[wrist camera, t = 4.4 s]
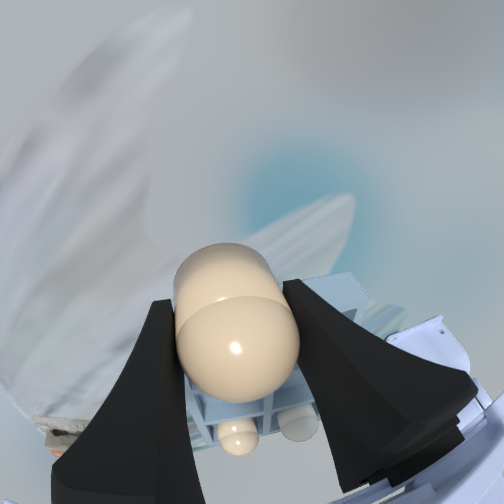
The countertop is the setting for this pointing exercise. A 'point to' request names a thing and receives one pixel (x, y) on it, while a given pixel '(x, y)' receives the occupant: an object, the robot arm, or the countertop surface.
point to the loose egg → (233, 324)
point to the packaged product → (59, 432)
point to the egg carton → (295, 387)
